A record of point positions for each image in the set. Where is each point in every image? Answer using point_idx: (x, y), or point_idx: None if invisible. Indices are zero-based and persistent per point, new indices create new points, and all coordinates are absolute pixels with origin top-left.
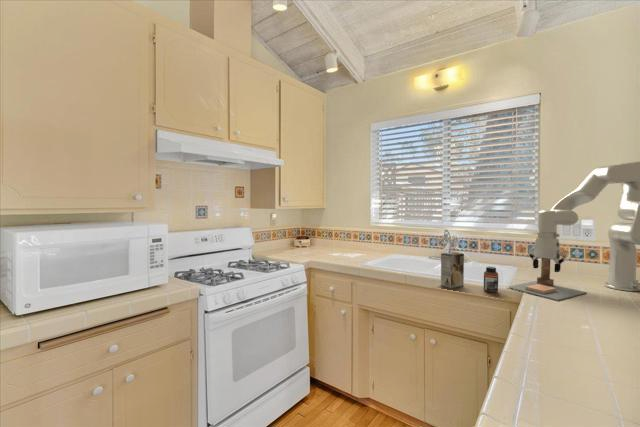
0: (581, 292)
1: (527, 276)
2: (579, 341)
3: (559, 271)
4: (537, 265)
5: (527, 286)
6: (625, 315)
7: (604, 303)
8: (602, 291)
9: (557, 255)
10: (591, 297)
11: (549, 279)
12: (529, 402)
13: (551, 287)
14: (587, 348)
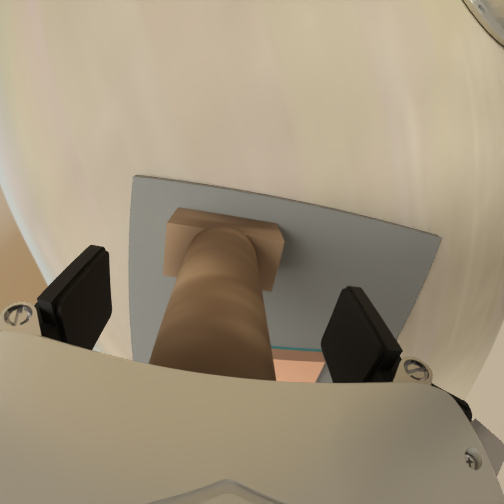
0: (422, 269)
1: (45, 49)
2: None
3: (357, 287)
4: (96, 284)
5: None
6: (463, 388)
7: (459, 337)
8: (479, 119)
9: (436, 429)
10: (444, 294)
11: (258, 267)
12: None
13: (302, 368)
14: None
